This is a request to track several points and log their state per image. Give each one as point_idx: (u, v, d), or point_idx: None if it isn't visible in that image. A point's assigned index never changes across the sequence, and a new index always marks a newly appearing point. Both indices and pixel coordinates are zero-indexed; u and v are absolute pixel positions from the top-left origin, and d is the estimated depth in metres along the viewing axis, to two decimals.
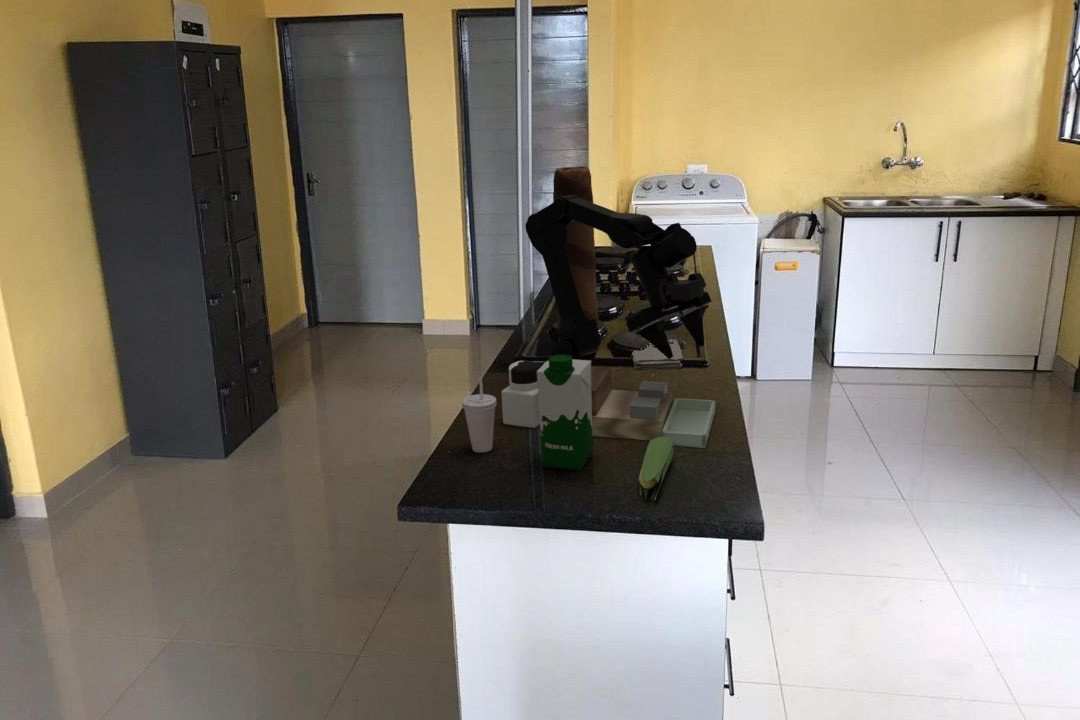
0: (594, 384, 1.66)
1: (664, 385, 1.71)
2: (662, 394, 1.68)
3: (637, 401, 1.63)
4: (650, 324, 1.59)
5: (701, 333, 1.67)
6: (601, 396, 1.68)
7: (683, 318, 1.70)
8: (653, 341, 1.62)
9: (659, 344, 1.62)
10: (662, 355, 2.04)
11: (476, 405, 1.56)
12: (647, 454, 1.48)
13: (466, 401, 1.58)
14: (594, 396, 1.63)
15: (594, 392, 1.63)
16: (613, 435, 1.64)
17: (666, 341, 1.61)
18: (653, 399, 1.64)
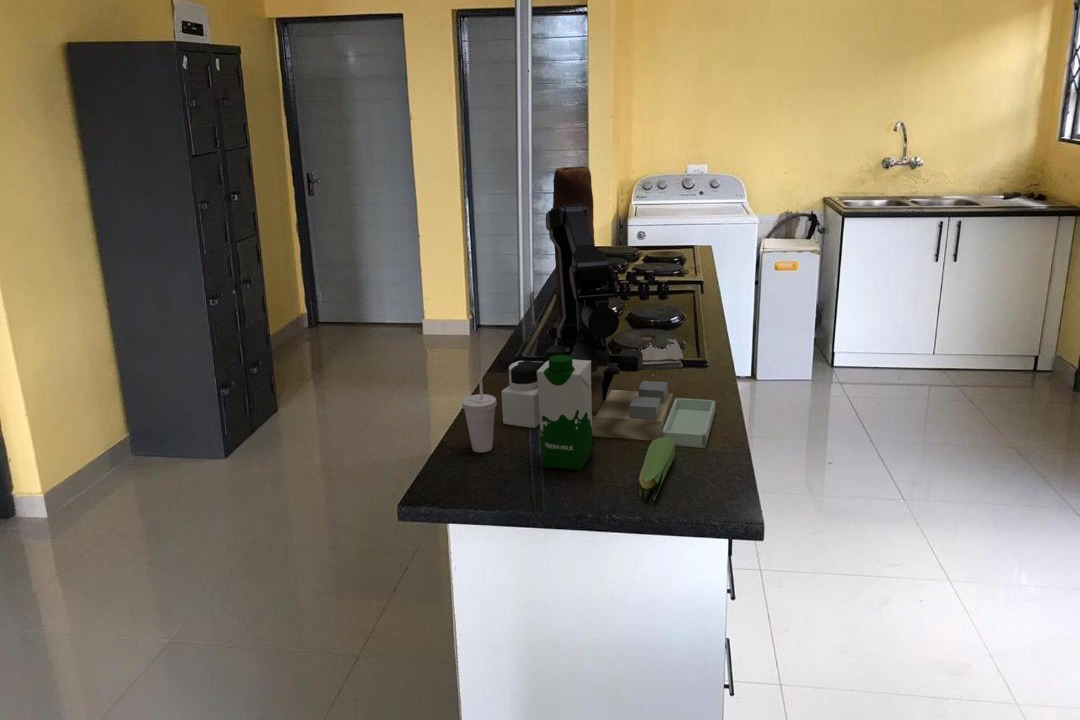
0: (594, 384, 1.66)
1: (664, 385, 1.71)
2: (662, 394, 1.68)
3: (637, 401, 1.63)
4: None
5: (604, 391, 1.68)
6: (601, 396, 1.68)
7: None
8: None
9: None
10: (662, 355, 2.04)
11: (476, 405, 1.56)
12: (648, 454, 1.47)
13: (466, 401, 1.58)
14: (594, 396, 1.63)
15: (594, 392, 1.63)
16: (613, 435, 1.64)
17: None
18: (653, 399, 1.64)
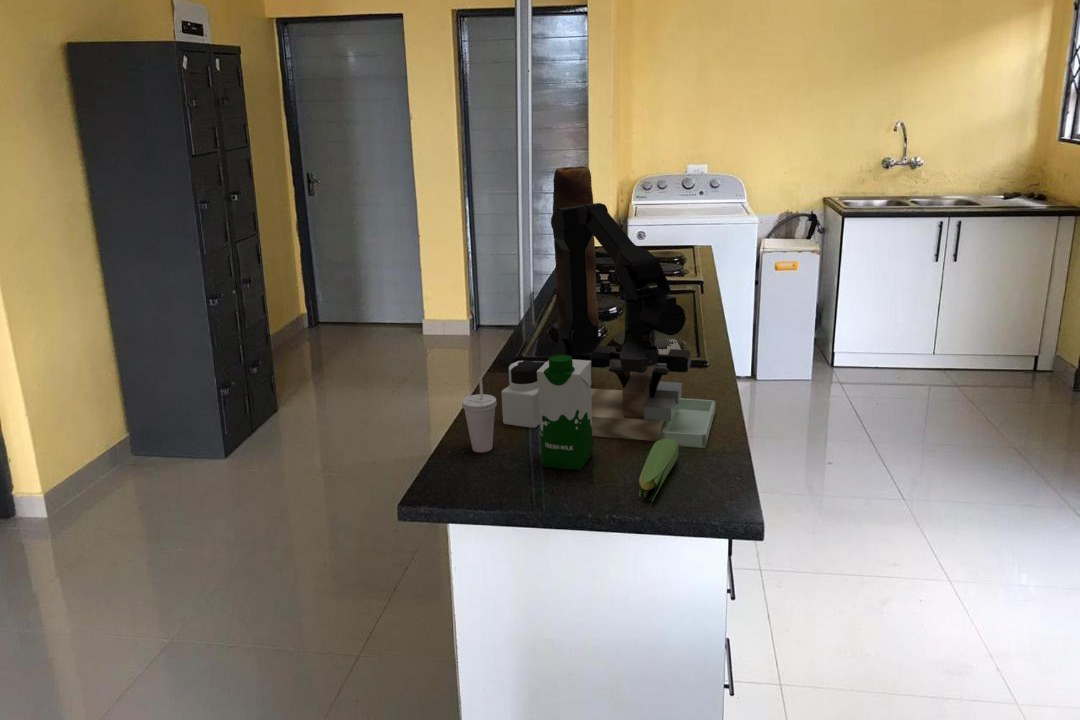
0: (641, 385, 1.63)
1: (678, 386, 1.70)
2: (676, 395, 1.68)
3: (651, 402, 1.63)
4: None
5: (651, 391, 1.66)
6: (648, 397, 1.65)
7: None
8: None
9: None
10: None
11: (476, 405, 1.56)
12: (650, 455, 1.47)
13: (466, 401, 1.58)
14: (642, 397, 1.60)
15: (642, 393, 1.60)
16: (613, 435, 1.64)
17: None
18: (668, 400, 1.63)
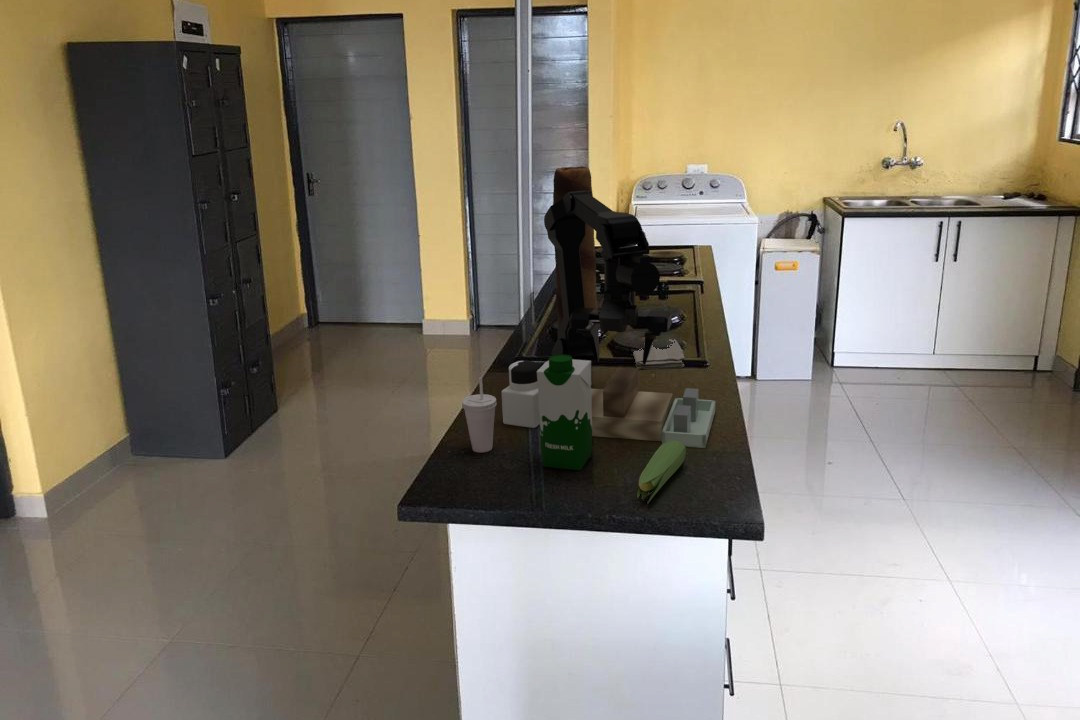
0: (622, 386, 1.64)
1: (697, 414, 1.71)
2: (691, 420, 1.69)
3: (689, 415, 1.61)
4: (577, 328, 1.65)
5: (644, 354, 1.64)
6: (629, 398, 1.66)
7: None
8: None
9: None
10: (664, 355, 2.04)
11: (476, 405, 1.56)
12: (653, 457, 1.46)
13: (466, 401, 1.58)
14: (623, 398, 1.61)
15: (623, 394, 1.61)
16: (613, 435, 1.64)
17: (593, 347, 1.66)
18: (689, 427, 1.63)
